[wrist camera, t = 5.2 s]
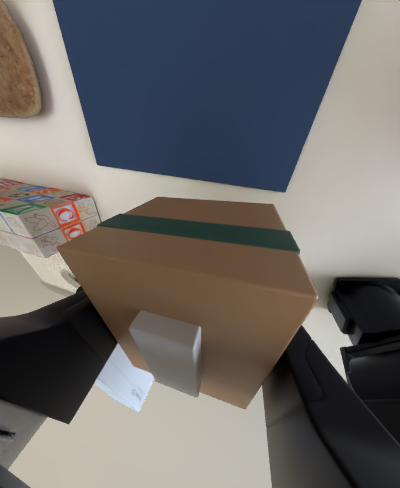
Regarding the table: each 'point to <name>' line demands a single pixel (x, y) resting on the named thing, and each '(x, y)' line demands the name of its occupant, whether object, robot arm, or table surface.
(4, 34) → the stone cup
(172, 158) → the desk mat
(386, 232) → the table surface
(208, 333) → the cardboard box
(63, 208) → the stack of blocks
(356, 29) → the table surface
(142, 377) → the skincare box
